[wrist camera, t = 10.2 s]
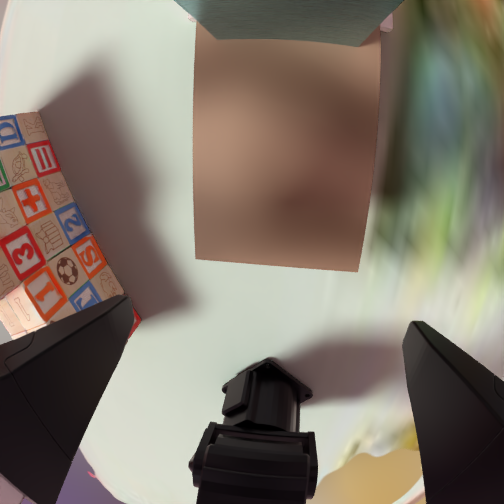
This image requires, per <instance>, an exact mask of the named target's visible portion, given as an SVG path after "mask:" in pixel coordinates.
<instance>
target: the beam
mask: <svg viewBox="0 0 504 504" xmlns="http://www.w3.org/2000/svg"><path fill="white" fill-rule="evenodd" d="M380 65H381V34H380V25H379V26H378V27H377V28H376V29H375V30H374V31H373V32H372V33H371V34H370V35H369V36H368V37H367V38H366V39H365V40H364V41H363V42H362V43H361V45H360V46H359V47H353V46H346V45H339V44H330V43H321V42H310V41H297V40H278V39H228V40H217V39H216V38H215V37H214V36H213V35H211V34H210V33H209V32H208V31H207V30H206V29H205V28H204V27H203V26H202V25H201V24H200V23H199V22H198V21H197V23H196V40H195V62H194V92H193V201H194V233H195V257H196V259H201V260H212V261H224V262H235V263H247V264H259V265H271V266H284V267H296V268H309V269H322V270H335V271H348V272H358V269H359V263H360V258H361V253H362V247H363V241H364V235H365V229H366V223H367V216H368V210H369V203H370V195H371V188H372V180H373V171H374V162H375V152H376V141H377V129H378V115H379V97H380Z"/></svg>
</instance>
